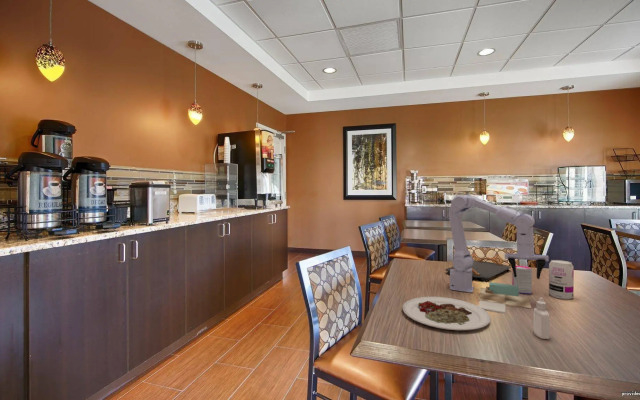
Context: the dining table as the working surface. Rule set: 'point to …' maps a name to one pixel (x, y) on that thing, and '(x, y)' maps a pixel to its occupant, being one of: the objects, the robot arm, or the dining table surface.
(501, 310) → the grey tile
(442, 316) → the plated food
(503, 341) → the dining table surface
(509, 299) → the board
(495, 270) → the serving board
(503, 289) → the teal bar
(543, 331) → the eye dropper bottle
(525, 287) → the supplement box
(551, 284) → the supplement can
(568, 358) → the dining table surface
